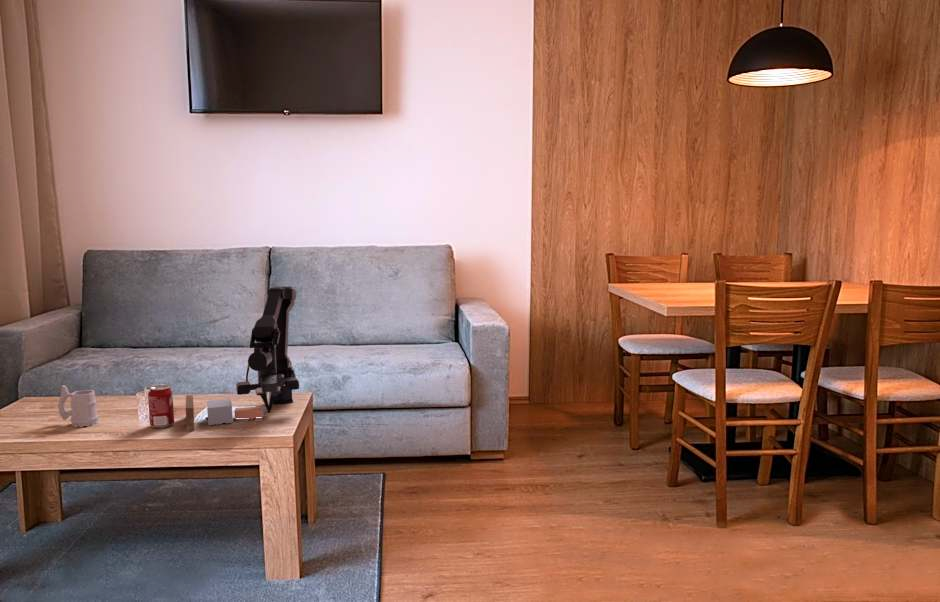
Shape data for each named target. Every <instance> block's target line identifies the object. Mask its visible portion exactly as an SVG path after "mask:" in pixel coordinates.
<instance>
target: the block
mask: <svg viewBox="0 0 940 602" xmlns="http://www.w3.org/2000/svg"><path fill="white" fill-rule="evenodd" d="M206 407H207V409H206V411H207V426H213V425H214V426H216V425H223V424H222V423H226V424H233V423H232V422H234V421H233V420H234V419H233V405H232V400H231V398H223V399H213V400H212V399H211V400H206ZM230 422H231V423H230ZM215 424H216V425H215Z"/></svg>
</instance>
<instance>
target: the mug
mask: <svg viewBox="0 0 940 602" xmlns="http://www.w3.org/2000/svg"><path fill="white" fill-rule="evenodd" d="M68 398H70V403H69V405H70V408H71V410H68V409H67V408H66V401H67V399H68ZM57 407H58V414H59V416H60V417H61V418H62V420H63V421H67V419H68V418H69V417H70V416H71V417H70V423H71V426H72V425H73V426H74V428H84V427H83V426H87V427H90V426H89V425H92V426H94V425H93V424H95V423H97V422H98V423H99V417H100V415H99V414H98V411H97V409H98V408H97V399H96V394H95V390H92V389H84V390H76V391H73V392H69V388H68V387H67V386H66V385H64V384H63V385H61V392H60V396H59V401H58V404H57ZM98 423H97V424H98ZM95 425H96V424H95ZM73 426H72V427H73ZM78 426H79V427H78Z"/></svg>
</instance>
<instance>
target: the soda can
mask: <svg viewBox="0 0 940 602" xmlns="http://www.w3.org/2000/svg"><path fill="white" fill-rule="evenodd" d="M170 387H171V386H170V385H169V384H157V385H153V386H151V387H149V391H148V393H147V400H148V413H149V415H148V416H149V426H151V427H152V428H154V429H165V428H169V427H170V426H172V425H173V424H175V412H174V400H173V399H174V397H173V394H174V393H173V391H172V388H170Z"/></svg>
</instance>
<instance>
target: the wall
mask: <svg viewBox="0 0 940 602" xmlns="http://www.w3.org/2000/svg"><path fill="white" fill-rule="evenodd" d="M185 419H186V420H185V423H186V432H194V431H195V408H194V394H186V395H185Z"/></svg>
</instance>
